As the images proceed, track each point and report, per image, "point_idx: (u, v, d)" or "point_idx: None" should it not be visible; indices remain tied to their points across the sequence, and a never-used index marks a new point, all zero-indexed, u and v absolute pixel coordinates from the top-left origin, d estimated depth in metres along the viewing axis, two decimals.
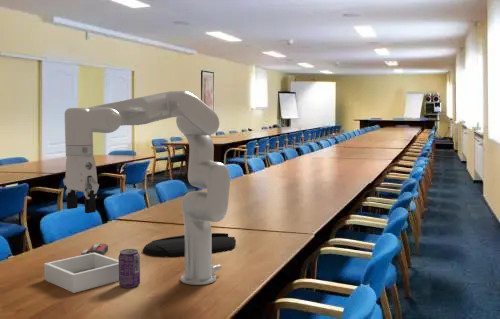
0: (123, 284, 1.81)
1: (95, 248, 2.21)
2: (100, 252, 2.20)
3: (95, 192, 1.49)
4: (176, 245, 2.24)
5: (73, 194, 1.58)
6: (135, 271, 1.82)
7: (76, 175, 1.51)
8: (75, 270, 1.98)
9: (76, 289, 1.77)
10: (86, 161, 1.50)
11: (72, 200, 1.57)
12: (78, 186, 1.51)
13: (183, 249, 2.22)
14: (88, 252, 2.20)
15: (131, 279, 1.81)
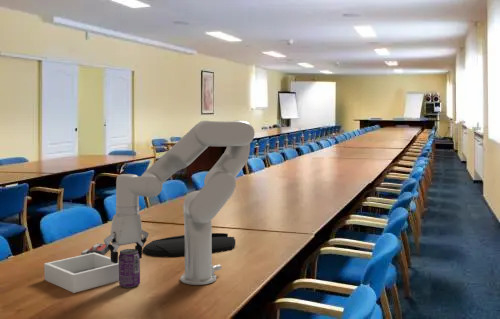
0: (123, 284, 1.81)
1: (95, 248, 2.21)
2: (100, 252, 2.20)
3: None
4: (176, 245, 2.24)
5: None
6: (135, 271, 1.82)
7: (136, 230, 1.83)
8: (75, 270, 1.98)
9: (76, 289, 1.77)
10: None
11: None
12: (136, 238, 1.83)
13: (183, 249, 2.22)
14: (88, 252, 2.20)
15: (131, 279, 1.81)
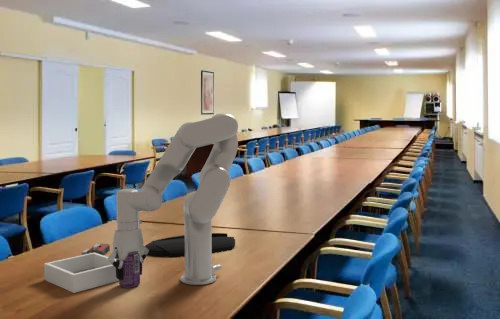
0: (123, 284, 1.81)
1: (95, 248, 2.21)
2: (100, 252, 2.20)
3: None
4: (177, 245, 2.24)
5: None
6: (135, 271, 1.82)
7: (137, 244, 1.83)
8: (75, 270, 1.98)
9: (76, 289, 1.77)
10: None
11: None
12: (138, 252, 1.84)
13: (183, 249, 2.22)
14: (88, 252, 2.20)
15: (131, 279, 1.81)
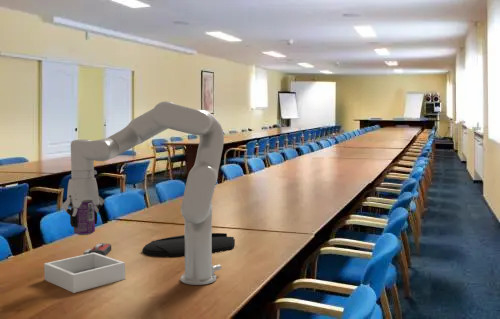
0: (77, 231, 1.86)
1: (97, 248, 2.21)
2: (102, 252, 2.20)
3: None
4: (176, 245, 2.24)
5: None
6: (89, 219, 1.86)
7: (92, 193, 1.88)
8: (75, 270, 1.98)
9: (76, 289, 1.77)
10: None
11: None
12: (93, 202, 1.89)
13: (183, 249, 2.22)
14: (90, 252, 2.20)
15: (85, 226, 1.86)
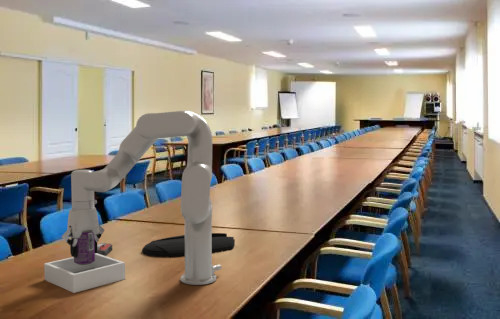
0: (77, 261, 1.87)
1: (98, 248, 2.21)
2: (103, 252, 2.20)
3: None
4: (176, 245, 2.24)
5: None
6: (89, 249, 1.87)
7: (92, 223, 1.89)
8: (75, 270, 1.98)
9: (76, 289, 1.77)
10: None
11: None
12: (93, 231, 1.90)
13: (183, 249, 2.22)
14: None
15: (85, 256, 1.87)
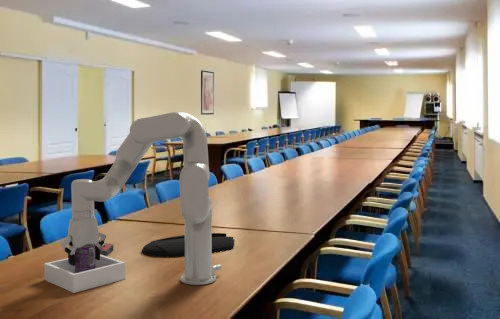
0: None
1: None
2: (104, 252, 2.21)
3: None
4: (176, 245, 2.24)
5: None
6: (90, 264, 1.88)
7: (92, 232, 1.89)
8: None
9: (76, 289, 1.77)
10: None
11: None
12: (93, 241, 1.90)
13: (183, 249, 2.22)
14: None
15: None
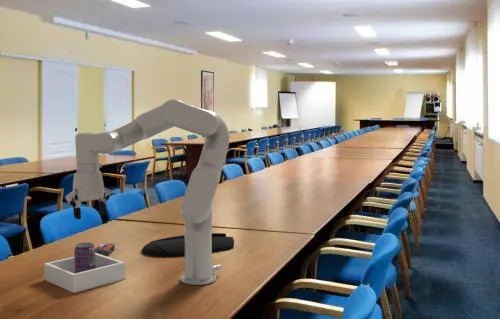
0: None
1: (101, 247, 2.22)
2: (106, 252, 2.21)
3: None
4: (176, 245, 2.24)
5: None
6: (90, 264, 1.88)
7: (97, 186, 1.88)
8: None
9: (76, 289, 1.77)
10: None
11: None
12: (99, 195, 1.88)
13: (183, 249, 2.22)
14: None
15: None
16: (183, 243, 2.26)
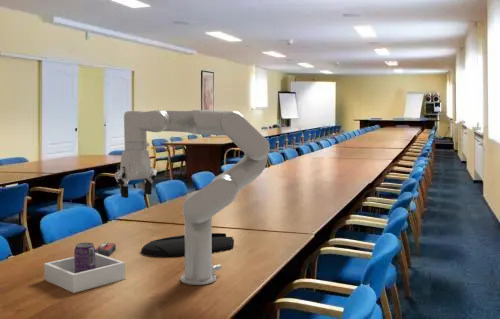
0: None
1: (102, 247, 2.22)
2: (107, 251, 2.21)
3: None
4: (175, 245, 2.24)
5: None
6: (90, 264, 1.88)
7: (145, 165, 1.86)
8: None
9: (76, 289, 1.77)
10: None
11: None
12: (146, 174, 1.86)
13: (182, 249, 2.22)
14: (95, 251, 2.21)
15: None
16: (182, 243, 2.26)
